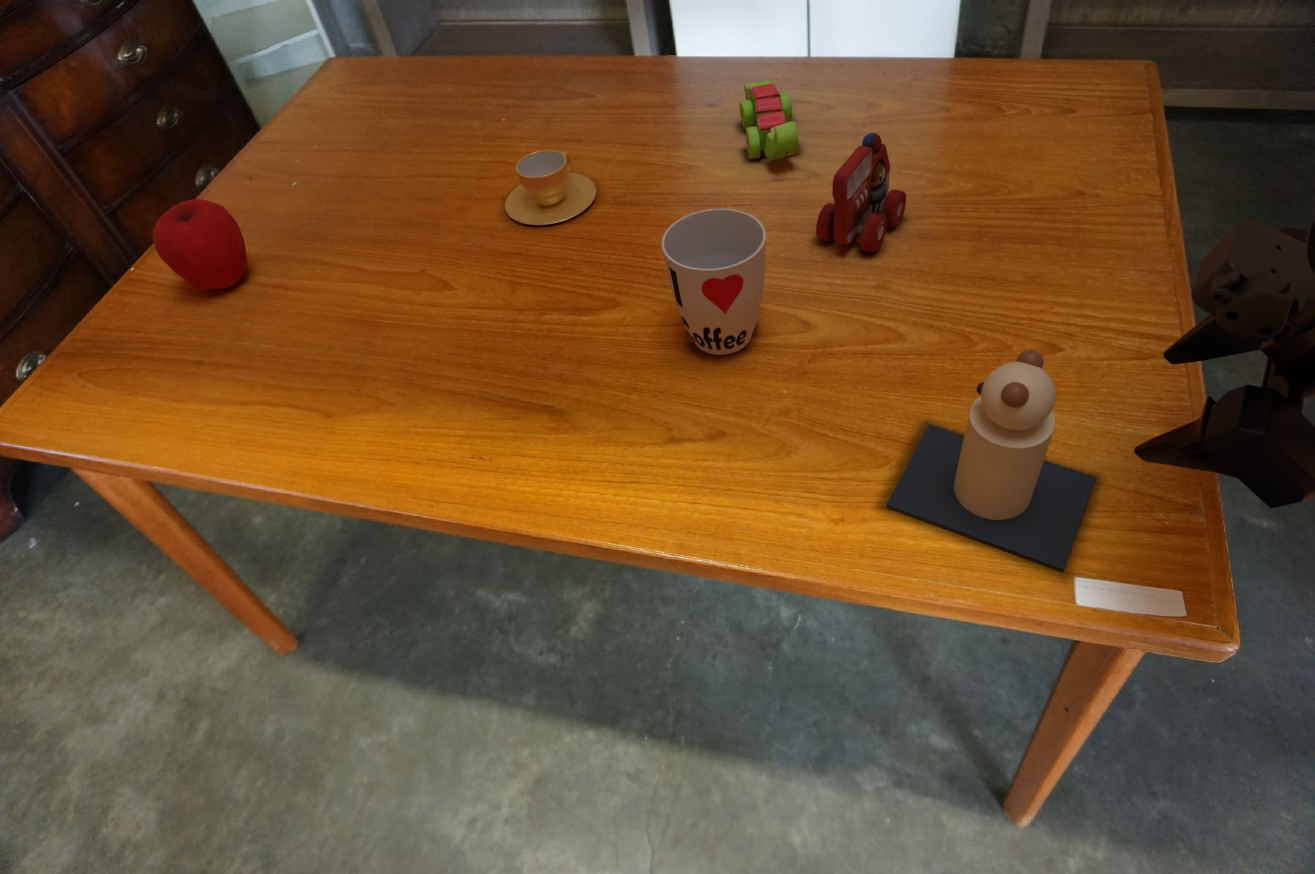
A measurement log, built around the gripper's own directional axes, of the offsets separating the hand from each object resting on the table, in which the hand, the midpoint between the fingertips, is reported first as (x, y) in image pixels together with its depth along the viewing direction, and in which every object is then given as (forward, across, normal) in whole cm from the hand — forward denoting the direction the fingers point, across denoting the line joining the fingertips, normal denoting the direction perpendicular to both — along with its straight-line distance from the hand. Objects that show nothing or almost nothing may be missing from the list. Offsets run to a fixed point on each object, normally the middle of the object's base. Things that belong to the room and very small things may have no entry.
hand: (1153, 404), depth 57 cm
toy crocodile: (+44, -44, -30) cm, 69 cm away
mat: (+15, +2, +1) cm, 16 cm away
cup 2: (+34, -7, -22) cm, 41 cm away
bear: (+15, +2, +1) cm, 15 cm away
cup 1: (+55, -22, -47) cm, 76 cm away
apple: (+73, +8, -72) cm, 103 cm away
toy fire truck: (+32, -29, -16) cm, 46 cm away
